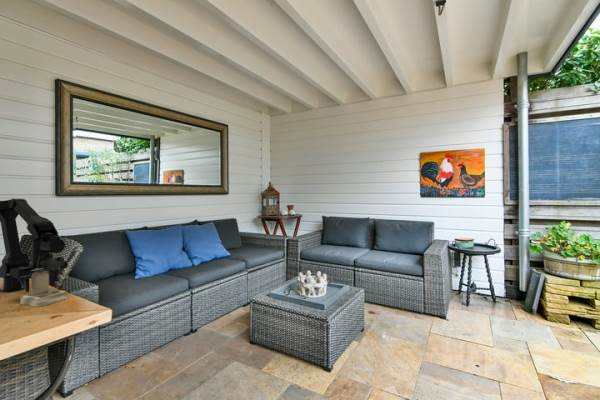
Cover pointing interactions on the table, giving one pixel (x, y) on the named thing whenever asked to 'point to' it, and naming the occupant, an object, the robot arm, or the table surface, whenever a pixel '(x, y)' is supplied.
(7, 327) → the table surface
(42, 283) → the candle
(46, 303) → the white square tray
